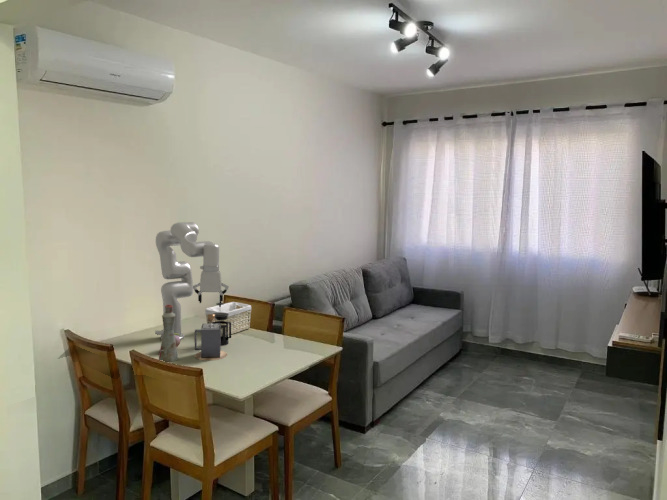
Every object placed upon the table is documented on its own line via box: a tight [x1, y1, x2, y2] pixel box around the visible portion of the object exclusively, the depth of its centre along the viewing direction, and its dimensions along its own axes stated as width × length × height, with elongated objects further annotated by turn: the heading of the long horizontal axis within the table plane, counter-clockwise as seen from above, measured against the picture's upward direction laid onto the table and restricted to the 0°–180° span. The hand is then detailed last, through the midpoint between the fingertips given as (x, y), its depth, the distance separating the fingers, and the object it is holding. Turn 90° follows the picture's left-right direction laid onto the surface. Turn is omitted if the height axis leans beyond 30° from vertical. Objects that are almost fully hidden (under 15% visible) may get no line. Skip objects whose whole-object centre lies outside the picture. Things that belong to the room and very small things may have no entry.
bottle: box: [158, 305, 179, 363], centre depth 245 cm, size 9×9×28 cm
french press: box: [212, 302, 232, 347], centre depth 272 cm, size 12×9×23 cm
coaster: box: [194, 350, 228, 362], centre depth 254 cm, size 16×16×1 cm
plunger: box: [206, 314, 215, 327], centre depth 253 cm, size 6×6×19 cm
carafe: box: [194, 323, 222, 358], centre depth 253 cm, size 12×9×15 cm
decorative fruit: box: [174, 333, 181, 349], centre depth 261 cm, size 9×8×10 cm
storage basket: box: [204, 301, 252, 336], centre depth 299 cm, size 24×16×15 cm
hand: (210, 302), depth 251 cm, fingers open, 9 cm apart
